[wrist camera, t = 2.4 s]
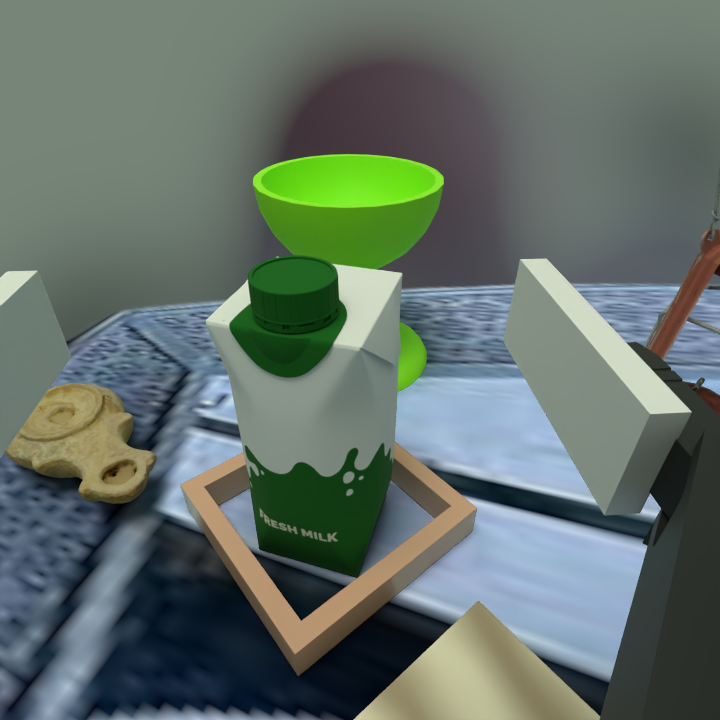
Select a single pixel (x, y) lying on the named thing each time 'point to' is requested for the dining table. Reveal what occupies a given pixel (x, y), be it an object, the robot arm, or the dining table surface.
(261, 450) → the green white milk carton
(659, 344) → the lantern
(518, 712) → the board
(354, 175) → the wineglass
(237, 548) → the holder
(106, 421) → the oil lamp
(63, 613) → the dining table surface
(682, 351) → the dining table surface
